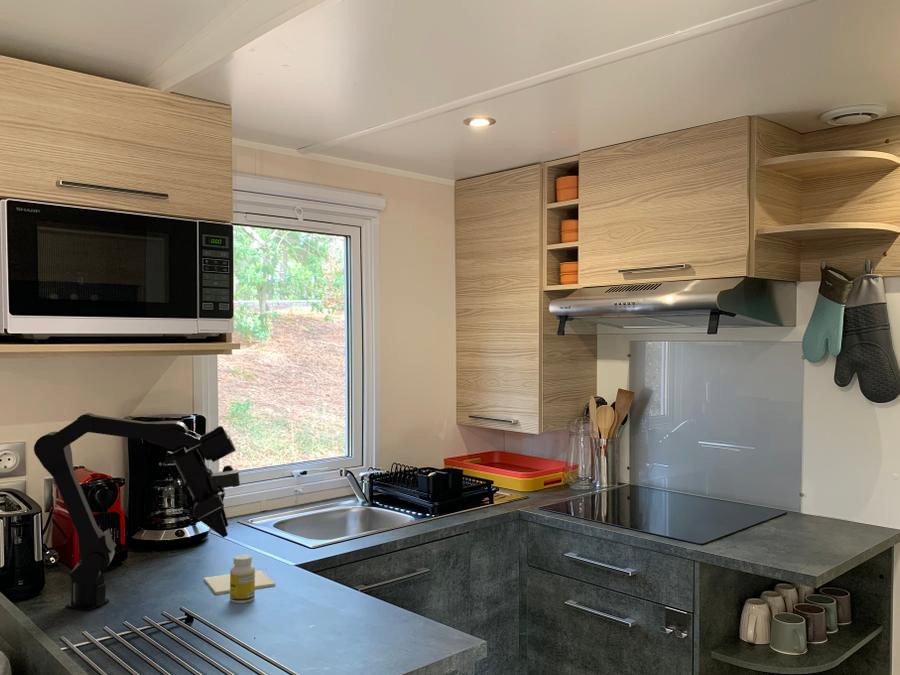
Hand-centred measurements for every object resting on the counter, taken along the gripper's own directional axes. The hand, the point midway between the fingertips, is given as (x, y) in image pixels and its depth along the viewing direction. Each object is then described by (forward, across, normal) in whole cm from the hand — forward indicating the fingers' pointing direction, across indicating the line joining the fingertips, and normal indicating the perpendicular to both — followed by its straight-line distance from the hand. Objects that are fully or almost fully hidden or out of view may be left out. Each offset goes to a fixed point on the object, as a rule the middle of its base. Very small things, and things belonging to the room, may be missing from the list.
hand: (226, 531), depth 175 cm
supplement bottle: (+15, -4, +3) cm, 16 cm away
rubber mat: (+14, +8, +4) cm, 17 cm away
